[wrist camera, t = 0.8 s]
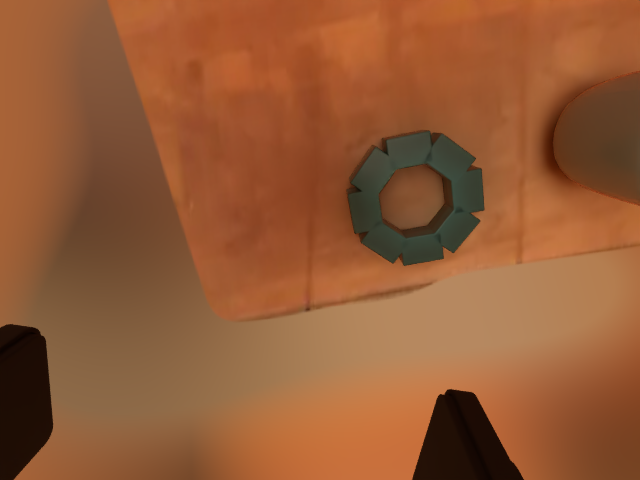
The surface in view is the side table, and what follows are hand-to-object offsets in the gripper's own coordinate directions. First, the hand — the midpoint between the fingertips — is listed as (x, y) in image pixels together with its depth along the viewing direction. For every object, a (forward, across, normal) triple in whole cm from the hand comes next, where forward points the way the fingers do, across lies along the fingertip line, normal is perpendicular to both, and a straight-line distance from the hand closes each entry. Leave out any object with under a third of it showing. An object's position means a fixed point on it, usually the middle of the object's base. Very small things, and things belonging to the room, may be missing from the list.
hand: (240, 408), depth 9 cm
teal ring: (+22, -8, -2) cm, 23 cm away
